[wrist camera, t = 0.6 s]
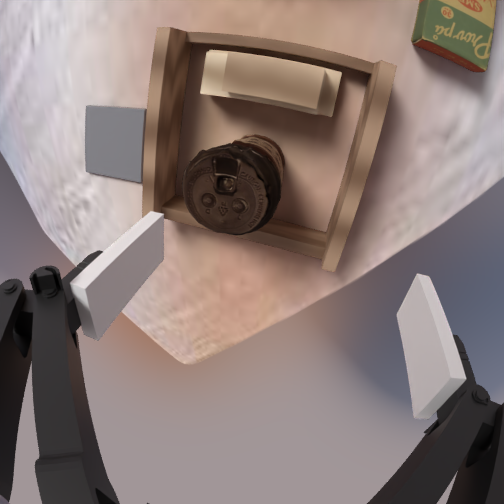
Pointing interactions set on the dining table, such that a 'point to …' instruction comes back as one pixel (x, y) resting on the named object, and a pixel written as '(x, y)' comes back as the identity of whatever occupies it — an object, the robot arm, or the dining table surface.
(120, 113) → the coaster
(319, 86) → the offcut stack
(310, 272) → the dining table surface
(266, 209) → the coffee cup
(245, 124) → the dining table surface
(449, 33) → the carton
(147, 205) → the brown wooden tray
